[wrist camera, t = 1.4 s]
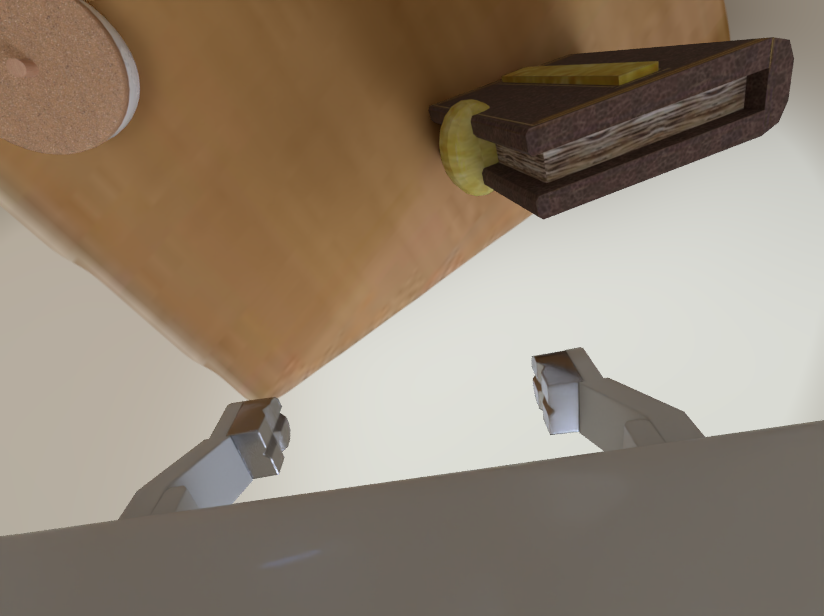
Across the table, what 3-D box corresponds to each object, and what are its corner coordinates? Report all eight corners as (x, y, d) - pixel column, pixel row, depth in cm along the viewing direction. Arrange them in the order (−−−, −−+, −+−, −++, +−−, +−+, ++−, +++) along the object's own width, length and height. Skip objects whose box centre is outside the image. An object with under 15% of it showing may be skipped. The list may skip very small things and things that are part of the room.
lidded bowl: (129, -16, 39) (72, -46, 29) (175, 134, 45) (141, 150, 35) (-30, -9, 37) (-147, -39, 27) (41, 147, 43) (-34, 167, 33)
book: (583, 38, 49) (801, 8, 28) (589, 115, 53) (782, 142, 32) (402, 104, 48) (481, 127, 27) (423, 178, 53) (506, 248, 31)
